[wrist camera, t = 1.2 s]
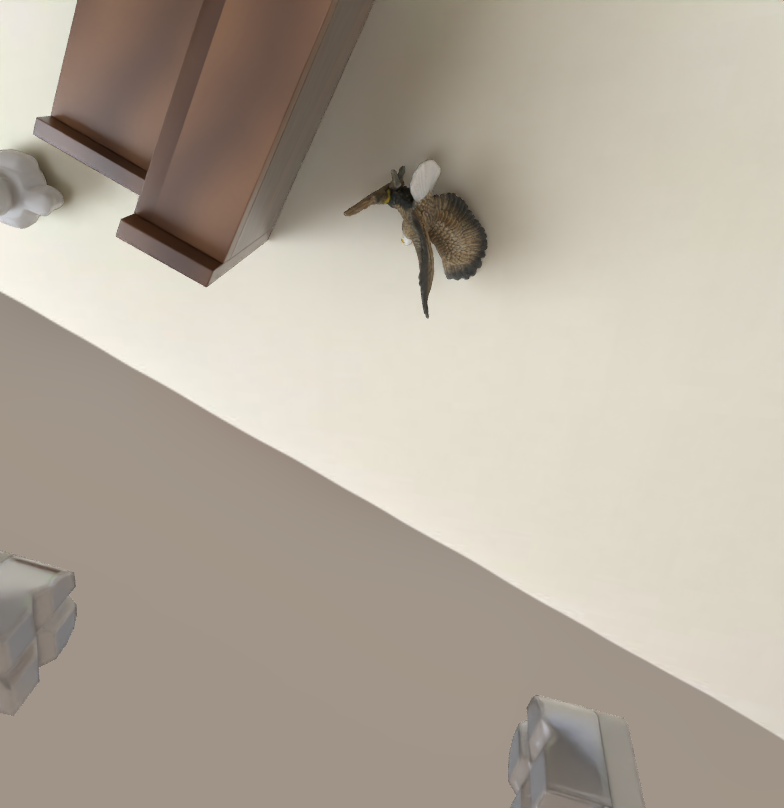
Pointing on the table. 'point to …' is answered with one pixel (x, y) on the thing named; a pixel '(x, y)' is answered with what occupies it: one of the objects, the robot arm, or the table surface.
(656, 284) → the table surface
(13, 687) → the robot arm
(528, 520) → the table surface
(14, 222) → the rubber duck
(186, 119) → the shelf
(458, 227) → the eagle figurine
